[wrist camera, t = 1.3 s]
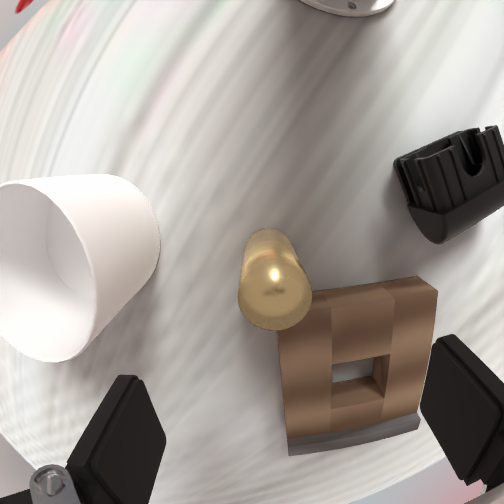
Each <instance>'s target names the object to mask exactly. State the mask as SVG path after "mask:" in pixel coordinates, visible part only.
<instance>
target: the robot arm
mask: <svg viewBox="0 0 504 504" xmlns="http://www.w3.org/2000/svg"><path fill="white" fill-rule="evenodd" d="M301 1H302V2H304V3H306V4H308V5H310V6H312V7H314V8H317V9H320V10H323V11H325V12H328V13H333V14H337V15H342V16H352V17H360V16H370V15H374V14H377V13H380V12H382V11H384V10H385V9H387V8H388V7H389V6H390V5H391V4H392V3H393V2H394V1H395V0H301ZM420 410H421V413H422V415H423V416H424V418H425V420H426V421H427V423H428V425H429V427H430V428H431V430H432V432H433V433H434V435H435V437H436V439H437V440H438V442H439V444H440V446H441V447H442V449H443V451H444V453H445V455H446V456H447V458H448V460H449V462H450V463H451V465H452V467H453V469H454V471H455V473H456V475H457V476H458V478H459V479H460V480H464V482H465V483H466V485H467V486H468V485H470V484H472V483H474V482H476V481H478V480H479V479H481V480H482V482H483V487H482V491H481V494H480V496H479V497H477V498H475V499H473V500H471V501H468V502H466V503H464V504H504V383H503V382H502V381H501V380H500V379H499V378H498V377H497V376H496V375H495V374H494V373H493V372H492V371H491V370H490V369H489V368H488V367H487V366H486V365H485V364H484V363H483V362H482V361H481V360H480V359H479V358H478V357H477V356H476V355H475V354H474V353H473V352H472V351H471V350H470V349H469V348H468V347H467V346H466V345H465V344H464V343H463V342H462V341H461V340H460V339H459V338H458V337H457V336H456V335H454V334H450V335H447V336H443V337H440V338H438V339H437V340H436V343H434V344H433V345H432V349H431V355H430V360H429V366H428V371H427V375H426V380H425V385H424V389H423V394H422V398H421V402H420ZM165 446H166V436H165V433H164V431H163V428H162V426H161V424H160V422H159V419H158V417H157V415H156V412H155V410H154V407H153V405H152V402H151V400H150V397H149V395H148V392H147V390H146V387H145V384H144V382H143V381H142V380H139V379H138V377H137V376H136V375H119V376H118V377H117V378H116V380H115V381H114V383H113V384H112V386H111V388H110V389H109V391H108V393H107V394H106V396H105V397H104V399H103V401H102V402H101V404H100V406H99V407H98V409H97V411H96V412H95V414H94V416H93V417H92V419H91V421H90V422H89V424H88V426H87V427H86V429H85V431H84V433H83V434H82V436H81V438H80V439H79V441H78V443H77V445H76V446H75V448H74V450H73V452H72V453H71V455H70V457H69V459H68V460H67V463H68V464H67V466H66V467H65V468H64V467H62V466H59V465H53V464H51V465H45V466H43V467H41V468H39V469H38V470H37V471H35V472H34V474H33V475H32V476H31V479H30V489H28V490H24V491H22V492H18V493H16V494H12V495H9V496H6V497H3V498H0V504H148V503H149V500H150V496H151V493H152V489H153V486H154V482H155V479H156V476H157V472H158V469H159V466H160V462H161V459H162V456H163V452H164V449H165Z"/></svg>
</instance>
